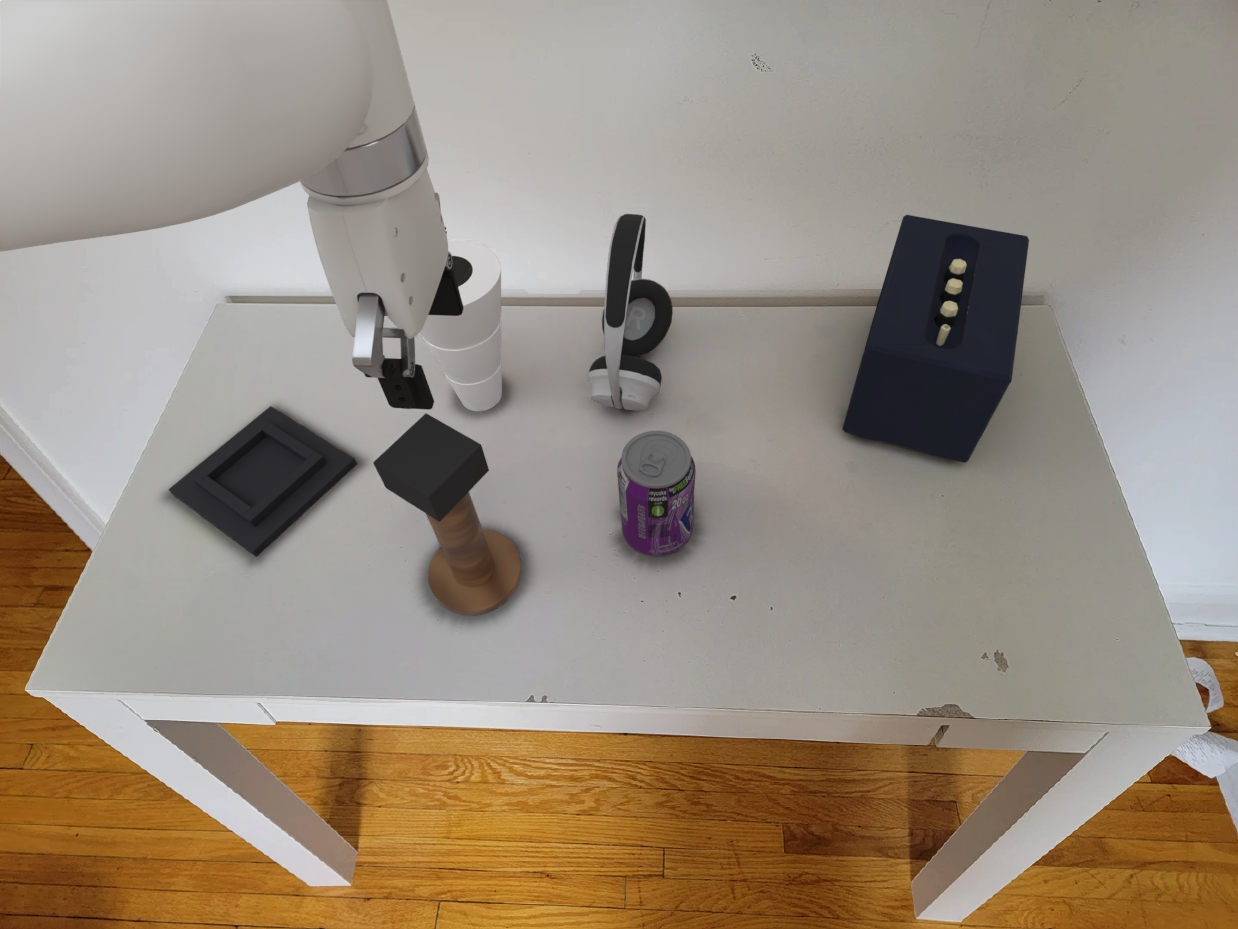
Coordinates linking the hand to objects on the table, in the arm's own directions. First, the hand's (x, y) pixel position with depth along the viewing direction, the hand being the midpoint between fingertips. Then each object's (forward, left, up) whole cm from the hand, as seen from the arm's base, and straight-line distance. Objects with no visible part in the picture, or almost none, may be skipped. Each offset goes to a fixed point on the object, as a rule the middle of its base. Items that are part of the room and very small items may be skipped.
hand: (429, 356), depth 58 cm
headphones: (+26, 0, -25) cm, 36 cm away
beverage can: (+10, -14, -25) cm, 31 cm away
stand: (-4, -2, -25) cm, 26 cm away
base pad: (-8, +25, -25) cm, 36 cm away
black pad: (-4, -2, -9) cm, 10 cm away
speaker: (+42, -28, -25) cm, 56 cm away
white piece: (+14, +13, -25) cm, 32 cm away
